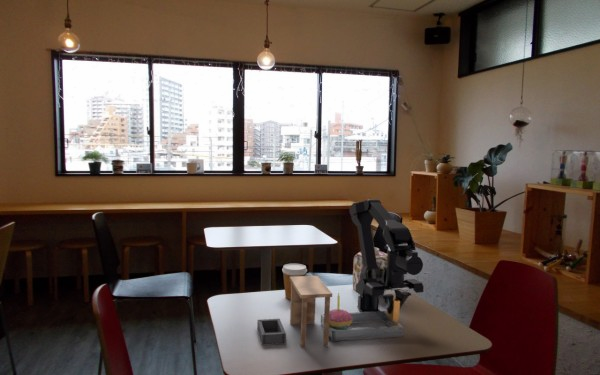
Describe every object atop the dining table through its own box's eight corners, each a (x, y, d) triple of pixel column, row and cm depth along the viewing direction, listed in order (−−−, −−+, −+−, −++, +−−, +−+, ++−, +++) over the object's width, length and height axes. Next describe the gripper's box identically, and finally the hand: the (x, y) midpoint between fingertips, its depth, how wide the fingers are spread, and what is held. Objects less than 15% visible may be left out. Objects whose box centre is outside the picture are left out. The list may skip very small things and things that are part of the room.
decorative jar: (377, 286, 180) (379, 244, 179) (391, 296, 169) (393, 251, 168) (351, 288, 177) (353, 245, 175) (363, 298, 166) (365, 252, 164)
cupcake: (322, 327, 138) (323, 290, 136) (347, 326, 139) (349, 290, 138) (328, 339, 129) (330, 300, 128) (355, 338, 131) (357, 299, 129)
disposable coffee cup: (287, 303, 158) (289, 271, 157) (277, 294, 166) (278, 264, 165) (310, 299, 162) (311, 268, 161) (299, 291, 171) (300, 262, 169)
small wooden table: (315, 321, 142) (317, 275, 141) (330, 345, 125) (332, 293, 124) (288, 323, 140) (289, 276, 139) (299, 347, 123) (301, 294, 122)
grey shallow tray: (386, 319, 145) (388, 291, 144) (403, 336, 132) (405, 305, 132) (320, 323, 140) (321, 294, 139) (332, 340, 128) (333, 309, 127)
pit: (279, 327, 136) (279, 318, 136) (285, 343, 126) (285, 333, 125) (257, 329, 135) (257, 319, 134) (261, 345, 124) (262, 335, 124)
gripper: (406, 257, 147) (403, 301, 149) (357, 260, 141) (355, 306, 143) (426, 266, 137) (423, 314, 139) (374, 270, 131) (371, 319, 132)
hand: (392, 313), depth 138 cm, fingers closed on grey shallow tray, 2 cm apart
